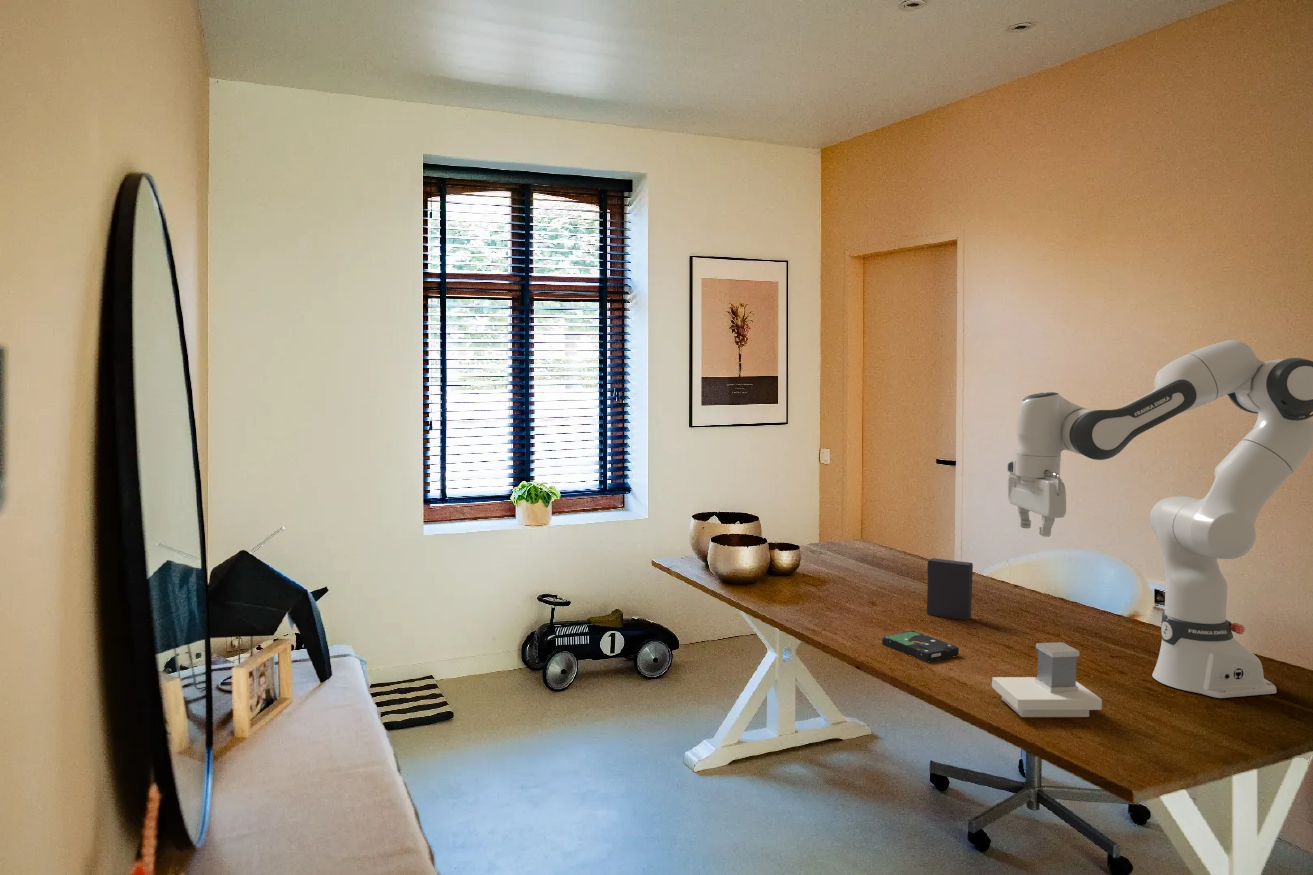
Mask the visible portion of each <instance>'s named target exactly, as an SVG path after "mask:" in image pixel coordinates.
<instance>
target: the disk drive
mask: <svg viewBox="0 0 1313 875" xmlns="http://www.w3.org/2000/svg"><path fill="white" fill-rule="evenodd" d="M881 643H882V646H885V647H887V648H889V647H890V649H892V650H895V651H897V652H899V651H900V652H899V653H902V652H903V653H902V654H905V655H907V656H909V655H911V656H910V657H912V656H913V657H912V658H914V657H915V658H914V659H917V660H919V659H921V660H923V661H922V662H924V661H925V662H924V663H929V662H928V661H931V662H934V661H933V660H936V661H938V660H937V659H942V660H946V659H945V658H947V659H950V658H949V657H952V658H954V657H953V656H957V655H959V652H960V648H959V646H957V645H954V644H952V643H948V642H946V641H943V640H940V639H938V638H934V637H932V636H929V635H926V634H924V633H921V632H918V631H916V630H908V631H903V632H897V633H896V634H890V635H883V637H882V638H881ZM959 656H960V655H959ZM957 657H958V656H957ZM921 660H920V661H921Z"/></svg>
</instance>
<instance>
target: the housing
mask: <svg viewBox="0 0 1313 875" xmlns="http://www.w3.org/2000/svg"><path fill="white" fill-rule="evenodd" d="M1035 643H1036V644H1035V649H1037V669H1036V670H1037V671H1036V672H1037V673H1036V677H1037V678H1035V682H1034V683H1036V684H1037V685H1039V686H1040V687H1042V688H1044V689H1045V690H1047V691H1048V692H1050V693H1062V692H1078V686H1076V681H1077V667H1078V666H1077V662H1078V657H1080V651H1079V650H1078V649H1076V648H1074V647H1072V646H1070V645H1069V644H1066V643H1065V642H1035Z"/></svg>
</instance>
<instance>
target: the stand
mask: <svg viewBox="0 0 1313 875" xmlns="http://www.w3.org/2000/svg"><path fill="white" fill-rule="evenodd" d="M1035 678H1037V676H1036V677H1035V676H1034V677H1033V676H1025V677H1024V676H1022V677H1021V676H1019V677H1018V676H1013V677H1011V676H1009V677H1008V676H1006V677H1003V676H998V677H997V676H996V677H994V676H993V677H992V679H991V688H992V689H994V690H995V692H997V693H998V694H999V695H1000V696H1001V700H1002V701H1003V702H1004V703H1005V704H1007V705H1008V706H1009V707H1010V709H1012V710H1013V711H1014V712H1015V713H1017V715H1019V716H1020V717H1021V718H1089V717H1090V711H1102V709H1103V708H1102V707H1103V706H1102V705H1103V704H1102V703H1103V699H1102V698H1101V697H1099V696H1098V695H1096V694H1095V693H1093V692H1092V691H1091V690H1089V689H1088V688H1087V687H1085V686H1083V685H1082V684H1081V683H1079V682H1078V681H1077V680H1076V686H1078V692H1062V693H1050V692H1048V691H1047V690H1045V689H1044V688H1042V687H1040V686H1039V685H1037V684H1036V683H1034V682H1035Z"/></svg>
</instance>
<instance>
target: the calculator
mask: <svg viewBox="0 0 1313 875" xmlns="http://www.w3.org/2000/svg"><path fill="white" fill-rule="evenodd" d="M973 568H974V567H973V562H969V561H961V560H960V561H959V560H950V559H943V558H935V557H932V558H930V559H928V561H927V571H926V572H927V588H926V589H927V594H926V599H927V600H926V614H927V615H929V616H934V617H941V618H949V619H953V620H961V621H969V620H970V619H971V617H972V597H973V575H974V572H973V571H974V570H973Z"/></svg>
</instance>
